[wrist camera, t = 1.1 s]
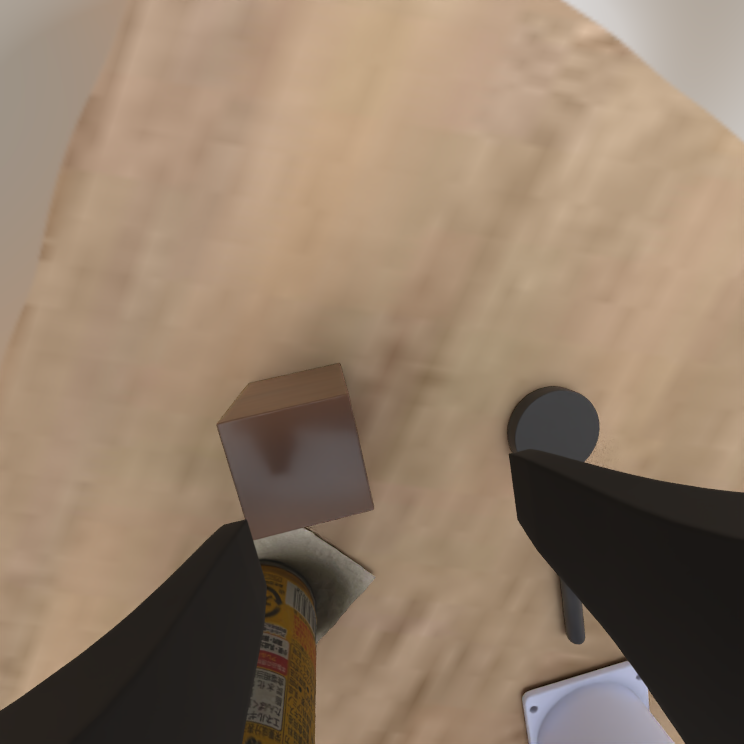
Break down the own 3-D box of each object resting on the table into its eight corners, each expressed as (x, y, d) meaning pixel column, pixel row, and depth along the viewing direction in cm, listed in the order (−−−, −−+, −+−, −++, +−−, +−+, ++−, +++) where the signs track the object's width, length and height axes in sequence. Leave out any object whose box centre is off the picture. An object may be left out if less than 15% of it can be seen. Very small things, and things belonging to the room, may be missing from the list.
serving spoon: (606, 623, 24) (618, 637, 23) (535, 644, 24) (544, 659, 23) (584, 377, 21) (597, 381, 20) (501, 397, 20) (510, 402, 20)
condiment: (162, 623, 20) (-45, 1061, 9) (263, 500, 20) (185, 794, 8) (278, 685, 22) (232, 1123, 10) (375, 572, 22) (440, 904, 10)
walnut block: (358, 446, 20) (374, 510, 14) (271, 467, 20) (251, 541, 14) (340, 362, 19) (348, 393, 13) (248, 383, 19) (215, 424, 13)
